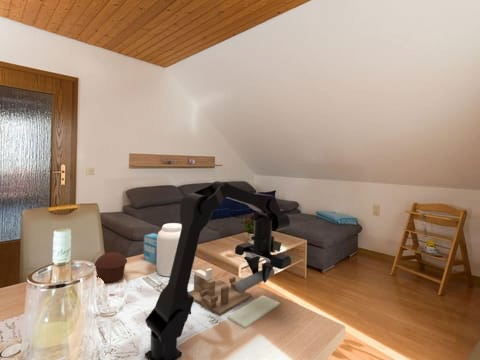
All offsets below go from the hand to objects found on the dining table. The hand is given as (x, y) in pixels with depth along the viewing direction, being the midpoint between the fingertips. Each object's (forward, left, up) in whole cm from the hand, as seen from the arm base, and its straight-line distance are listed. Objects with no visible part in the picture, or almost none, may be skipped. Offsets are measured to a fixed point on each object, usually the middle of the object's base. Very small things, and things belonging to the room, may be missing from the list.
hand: (260, 280), depth 87 cm
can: (+44, +3, -10) cm, 45 cm away
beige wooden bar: (+20, +7, -3) cm, 21 cm away
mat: (0, +2, -9) cm, 10 cm away
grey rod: (0, +2, +1) cm, 3 cm away
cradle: (+14, +4, -9) cm, 18 cm away
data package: (+58, +2, -10) cm, 59 cm away
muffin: (+54, +24, -10) cm, 60 cm away
